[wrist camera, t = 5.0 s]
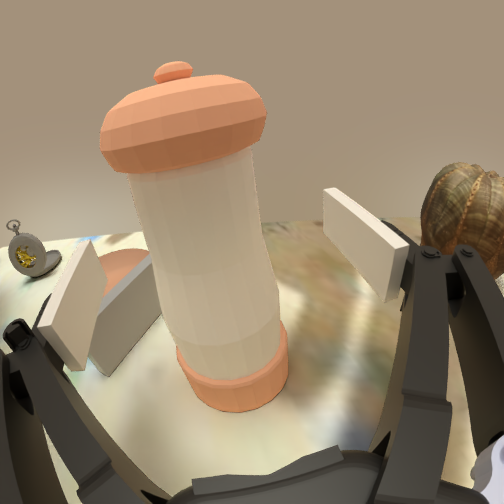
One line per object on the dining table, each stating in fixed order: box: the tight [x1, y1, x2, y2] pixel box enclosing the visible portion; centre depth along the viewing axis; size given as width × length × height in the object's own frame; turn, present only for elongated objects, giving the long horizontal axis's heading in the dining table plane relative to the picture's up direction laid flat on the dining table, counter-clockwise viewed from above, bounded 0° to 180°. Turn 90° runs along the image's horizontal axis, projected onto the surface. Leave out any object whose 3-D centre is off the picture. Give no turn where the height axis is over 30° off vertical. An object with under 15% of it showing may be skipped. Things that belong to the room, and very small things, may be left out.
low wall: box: [88, 254, 162, 377], centre depth 25 cm, size 1×18×5 cm, turn 158°
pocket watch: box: [7, 220, 61, 277], centre depth 32 cm, size 8×8×10 cm
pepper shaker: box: [100, 61, 288, 412], centre depth 14 cm, size 7×7×19 cm
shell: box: [420, 162, 504, 280], centre depth 20 cm, size 11×11×12 cm
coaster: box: [98, 249, 150, 298], centre depth 30 cm, size 13×13×1 cm
